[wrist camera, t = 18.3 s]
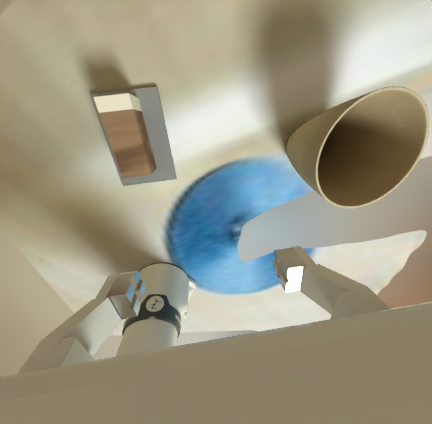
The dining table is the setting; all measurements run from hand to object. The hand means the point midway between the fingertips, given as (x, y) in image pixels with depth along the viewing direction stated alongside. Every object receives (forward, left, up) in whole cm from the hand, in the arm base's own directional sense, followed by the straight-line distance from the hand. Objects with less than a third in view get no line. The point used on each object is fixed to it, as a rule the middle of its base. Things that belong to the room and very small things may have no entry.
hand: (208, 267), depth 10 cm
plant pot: (+8, -21, -29) cm, 37 cm away
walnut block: (-2, +11, -26) cm, 28 cm away
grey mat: (+3, +12, -29) cm, 32 cm away
